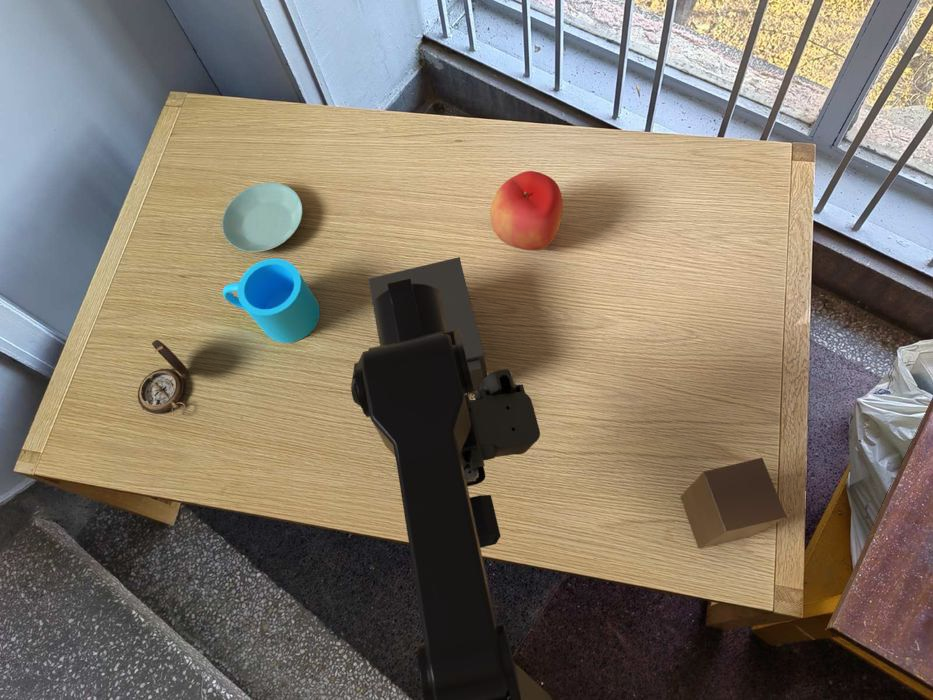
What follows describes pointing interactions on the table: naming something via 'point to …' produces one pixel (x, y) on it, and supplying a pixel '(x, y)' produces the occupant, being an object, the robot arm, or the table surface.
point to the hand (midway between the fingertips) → (455, 468)
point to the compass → (164, 384)
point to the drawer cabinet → (443, 299)
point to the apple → (527, 211)
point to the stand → (732, 503)
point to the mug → (276, 300)
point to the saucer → (262, 217)
